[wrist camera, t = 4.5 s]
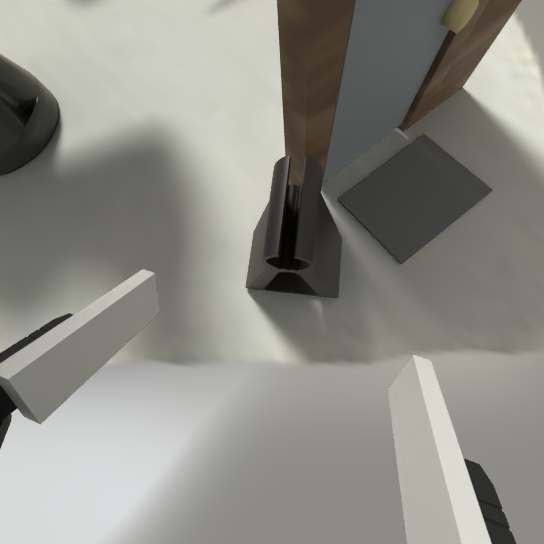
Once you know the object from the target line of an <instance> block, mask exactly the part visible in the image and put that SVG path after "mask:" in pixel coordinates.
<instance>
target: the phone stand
mask: <svg viewBox="0 0 544 544" xmlns="http://www.w3.org/2000/svg"><path fill="white" fill-rule="evenodd" d="M290 167H291V157H290V155H289V156H285V157H283V158H281V159H280V160H278V161H277V162H276V164H275V166H274V171H273V178H272V186H271V193H270V200H269V203H268V205H267V207H266V208H265V210H264V212H263V214H262V216H261V218H260V220H259V222H258V224H257V226H256V228H255V230H254V234H253V241H252V247H251V254H250V261H249V267H248V274H247V281H246V288H248V289H257V290H266V291H276V292H285V293H294V294H304V295H313V296H323V297H332V298H338V291H339V274H340V257H341V241H342V238H341V236H340V234H339V232H338V229H337V227H336V225H335V223H334V221H333V219H332V216H331V214H330V212H329V210H328V208H327V206H326V203H325V201H324V199H323V197H322V195H321V181H322V167H321V165H320V164H319V163H318V162H317V161H316V160H314V159H313V158H311V157H308V156H306V157H305V159H304V169H303V178H302V184H300V185H299V186H297V185H295V184H294V183H293V184H290V185H289V184H288V183H289V175H290Z"/></svg>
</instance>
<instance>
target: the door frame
mask: <svg viewBox="0 0 544 544" xmlns="http://www.w3.org/2000/svg"><path fill="white" fill-rule="evenodd" d="M520 2H521V0H479V5H478V7H477V9H476V11H475V13H474V14H473V16H472V17H471V19H470V20H469V22H468V23H467V24H466V25H465V26H464V28H463V29H462V30H461V31H459V32H458V33H455V32H453V31H452V30H450V29H449V31H448V33H447V35H446V37H445V39H444V41H443V43H442V45H441V47H440V49H439V51H438V53H437V55H436V57H435V59H434V61H433V63H432V65H431V67H430V69H429V71H428V73H427V74H426V76H425V78H424V80H423V82H422V84H421V86H420V88H419V90H418V92H417V94H416V96H415V98H414V100H413V102H412V104H411V106H410V108H409V110H408V112H407V114H406V116H405V118H404V120H403V122H402V124H401V125H399V126H398V127H399V128H400V129H401V130H403V131H405V130H406V129H407V128H409V127H410V126H411V125H413V124H414V123H415V122H417V121H418V120H419V119H421V118H422V117H423V116H425V115H426V114H427V113H428V112H430V111H431V110H432V109H434V108H435V107H436V106H438V105H439V104H440V103H442V102H443V101H444V100H446V99H447V98H448V97H450V96H451V95H452V94H454V93H455V92H456V91H458V90H459V89H460V88H462V87H463V86H464V84H465V83H466V81H467V80H468V78H469V77H470V75H471V74H472V72H473V71H474V69H475V68H476V67H477V65H478V64H479V62H480V61H481V59H482V58H483V56H484V55H485V53H486V52H487V50H488V49H489V47H490V46H491V44H492V43H493V42H494V40H495V39H496V37H497V36H498V34H499V33H500V31H501V30H502V28H503V27H504V25H505V24H506V22H507V21H508V20H509V18H510V17H511V15H512V14H513V12H514V11H515V9H516V8H517V6H518V5H519V3H520ZM353 5H354V0H277V9H278V27H279V45H280V63H281V82H282V100H283V118H284V136H285V155H286V156H289V155H290V157H291V167H290V175H289V183H288V184H289V185H290V184H293V183H294V184H295V185H297V186H299V185H300V184H302V178H303V169H304V159H305V157H306V156H308V157H311V158H313V159H314V160H316V161H317V162H318V163H319V164H320V165H321V167H322V179H323V174H324V168H325V162H326V157H327V151H328V146H329V140H330V134H331V129H332V123H333V117H334V112H335V106H336V100H337V95H338V89H339V84H340V78H341V72H342V67H343V61H344V55H345V50H346V44H347V39H348V33H349V27H350V22H351V16H352V10H353ZM321 185H322V181H321Z"/></svg>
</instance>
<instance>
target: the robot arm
mask: <svg viewBox="0 0 544 544" xmlns="http://www.w3.org/2000/svg"><path fill="white" fill-rule="evenodd" d="M57 119H58V106H57V102H56V99H55V97H54V96H53V94H52V93H51V92H50V91H49V90H48V89H47V88H46V87H45V86H44V85H43V84H42V83H41V82H40V81H39V80H38V79H37V78H36V77H35V76H33V75H32V74H31V73H29V72H28V71H26V70H25V69H23V68H22V67H20V66H19V65H17V64H15V63H14V62H12V61H11V60H9V59H8V58H6V57H4V56H3V55H1V54H0V174H4V173H7V172H10V171H12V170H14V169H16V168H18V167H20V166H22V165H23V164H25V163H26V162H28V161H29V160H31V159H32V158H33V157H34V156H35V155H36V154H37V153H38V152H39V151H40V150H41V149H42V148H43V147H44V146H45V145H46V143H47V142H48V140H49V139H50V137H51V135H52V134H53V131H54V129H55V127H56V123H57ZM159 312H160V306H159V299H158V291H157V283H156V275H155V273H153V272H150V271H147V270H144V269H142V270H141V271H139V272H138V273H136V274H135V275H133V276H132V277H130V278H129V279H127V280H126V281H124V282H123V283H121V284H119V285H118V286H116V287H115V288H113V289H112V290H110V291H109V292H107V293H106V294H104V295H103V296H101V297H100V298H98V299H97V300H95V301H94V302H92V303H91V304H89V305H88V306H86V307H85V308H83V309H82V310H80V311H79V312H77V313H76V314H74V315H72V314H70V313H69V314H66V315H64V316H61V317H59V318H56V319H54V320H52V321H50V322H49V323H47V324H46V325H44V326H43V327H41V328H40V329H39V330H36V331H35V332H33V333H31V334H30V335H29V336H28V337H25V338H24V339H22V340H20V341H19V342H17V343H16V344H14V345H12V346H11V347H9V348H8V349H6V350H5V351H3V352H1V353H0V448H1V445H2V443H3V441H4V438H5V435H6V433H7V430H8V427H9V425H10V422H11V417H12V415H11V413H12V412H13V411H14V410H16V409H17V408H18V409H19V411H20V412H21V413H22V415H23V416H24V417H26V418H28V419H30V420H32V421H35V422H37V423H39V424H41V423H42V422H43V421H44V420H45V419H47V418H48V417H49V416H50V415H51V414H52V413H53V412H54V411H55V410H56V409H57V408H58V407H59V406H60V405H61V404H63V403H64V402H65V401H66V400H67V399H68V398H69V397H70V396H71V395H72V394H73V393H74V392H75V391H76V390H77V389H78V388H79V387H81V385H83V384H84V383H85V382H86V381H87V380H88V379H89V378H90V377H91V376H92V375H93V374H94V373H95V372H97V371H98V370H99V369H100V368H101V367H102V366H103V365H104V364H105V363H106V362H107V361H108V360H109V359H110V358H111V357H113V356H114V355H115V354H116V353H117V352H118V351H119V350H120V349H121V348H122V347H123V346H124V345H125V344H126V343H127V342H128V341H130V340H131V339H132V338H133V337H134V336H135V335H136V334H137V333H138V332H139V331H140V330H141V329H142V328H143V327H144V326H146V325H147V324H148V323H149V322H150V321H151V320H152V319H153V318H154V317H155V316H156V315H157V314H158V313H159ZM388 396H389V404H390V411H391V420H392V427H393V436H394V442H395V451H396V458H397V467H398V475H399V483H400V491H401V498H402V506H403V514H404V522H405V530H406V537H407V544H516V542H515V540H514V537H513V534H512V532H510V530H509V524H508V522H507V519H506V517H505V514H504V512H502V507H501V504H500V501H499V499H498V496H497V493H496V491H495V488H494V486H493V484H492V483H491V481H490V480H489V478H488V477H487V475H486V474H485V472H484V470H483V469H482V467H481V466H480V465H479V464H477V463H475V462H472V461H469V460H467V459H464V458H463V456H462V453H461V450H460V447H459V444H458V441H457V437H456V434H455V432H454V429H453V425H452V423H451V419H450V416H449V413H448V410H447V407H446V404H445V402H444V398H443V395H442V392H441V389H440V386H439V383H438V380H437V377H436V374H435V371H434V368H433V365H432V362H431V360H429V359H426V358H422V357H419V356H416V355H412V356H411V358H410V359H409V361H408V362H407V363H406V365H405V366H404V368H403V369H402V370H401V372H400V373H399V375H398V376H397V377H396V379H395V380H394V382H393V383H392V385H391V386H390V387H389V389H388Z"/></svg>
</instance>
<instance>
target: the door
mask: <svg viewBox="0 0 544 544" xmlns="http://www.w3.org/2000/svg"><path fill="white" fill-rule="evenodd" d="M478 5H479V0H354V5H353V10H352V16H351V22H350V27H349V33H348V39H347V44H346V50H345V55H344V61H343V67H342V72H341V78H340V84H339V89H338V95H337V100H336V106H335V112H334V117H333V123H332V129H331V134H330V140H329V146H328V151H327V157H326V162H325V168H324V174H323V179H322V183H323V182H325V181H326V180H327V179H329V178H330V177H331V176H333V175H334V174H335V173H337V172H338V171H339V170H341V169H342V168H343V167H345V166H346V165H347V164H349V163H350V162H351V161H353V160H354V159H355V158H357V157H358V156H359V155H361V154H362V153H363V152H365V151H366V150H367V149H369V148H370V147H371V146H373V145H374V144H375V143H377V142H378V141H379V140H381V139H382V138H383V137H385V136H386V135H387V134H389V133H390V132H391V131H393V130H394V129H395V128H397V127H398V126H399V125H401V124H402V122H403V120H404V118H405V116H406V114H407V112H408V110H409V108H410V106H411V104H412V102H413V100H414V98H415V96H416V94H417V92H418V90H419V88H420V86H421V84H422V82H423V80H424V78H425V76H426V74H427V73H428V71H429V69H430V67H431V65H432V63H433V61H434V59H435V57H436V55H437V53H438V51H439V49H440V47H441V45H442V43H443V41H444V39H445V37H446V35H447V33H448V31H449V29H450V30H452V31H453V32H455V33H458V32H459V31H461V30H462V29H463V28H464V26H465V25H466V24H467V23H468V22H469V20H470V19H471V17H472V16H473V14H474V13H475V11H476V9H477V7H478Z"/></svg>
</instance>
